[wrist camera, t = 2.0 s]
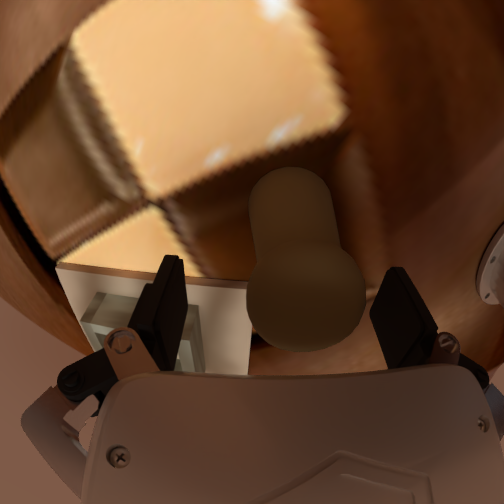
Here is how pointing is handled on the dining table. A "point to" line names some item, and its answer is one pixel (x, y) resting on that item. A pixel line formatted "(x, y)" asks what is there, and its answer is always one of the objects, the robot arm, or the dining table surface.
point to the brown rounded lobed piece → (300, 265)
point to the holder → (196, 324)
